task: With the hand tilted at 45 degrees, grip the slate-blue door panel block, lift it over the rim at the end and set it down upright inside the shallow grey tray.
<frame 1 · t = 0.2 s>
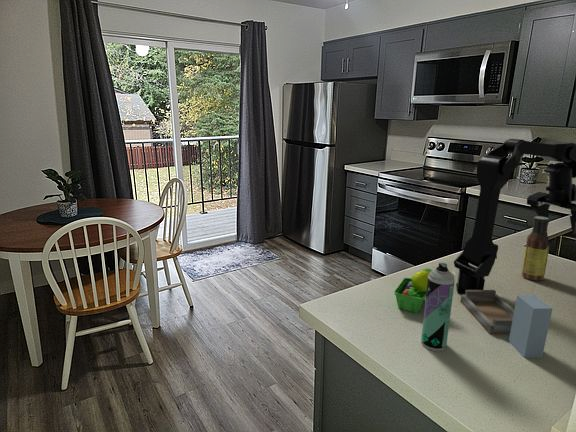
hand: (560, 229, 122), 16 cm above the counter, tool pointing down, fingers open, 9 cm apart
fruit basket: (413, 305, 107), on the counter
shallow grey tray: (492, 316, 101), on the counter
sauce bottle: (531, 277, 124), on the counter
spray can: (433, 345, 89), on the counter
door panel: (524, 349, 87), on the counter
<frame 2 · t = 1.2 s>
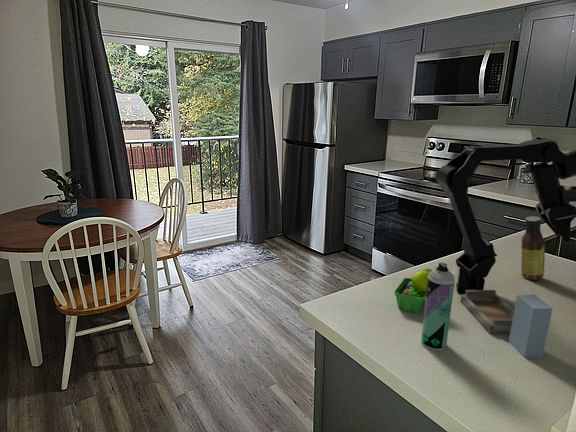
hand: (563, 238, 106), 18 cm above the counter, tool tilted 25°, fingers open, 9 cm apart
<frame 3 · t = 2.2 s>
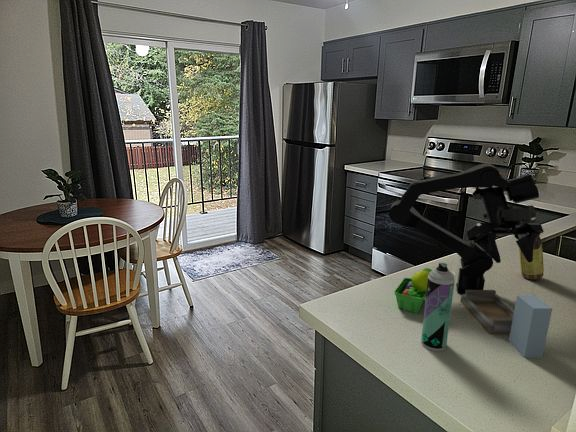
hand: (515, 262, 98), 15 cm above the counter, tool tilted 40°, fingers open, 9 cm apart
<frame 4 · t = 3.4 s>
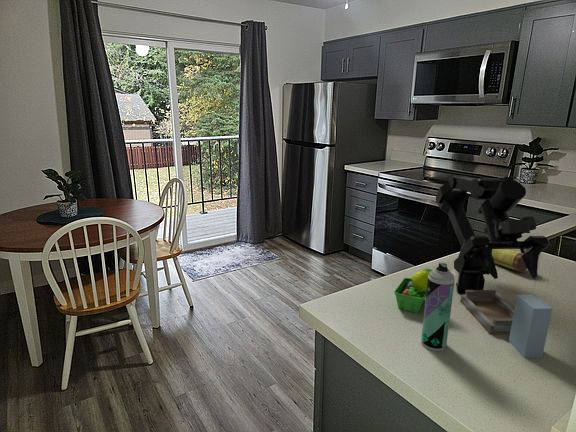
hand: (515, 278, 91), 14 cm above the counter, tool tilted 45°, fingers open, 9 cm apart
sauce bottle: (525, 264, 125), point 3 cm above the counter
everything else where it was.
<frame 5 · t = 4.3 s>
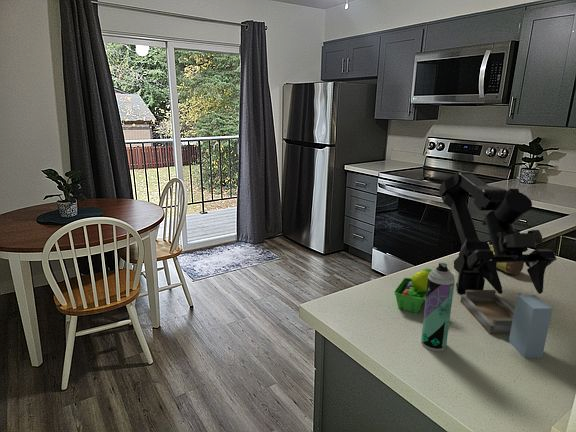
hand: (520, 293, 89), 11 cm above the counter, tool tilted 45°, fingers open, 9 cm apart
sauce bottle: (519, 267, 124), point 3 cm above the counter
everything else where it was.
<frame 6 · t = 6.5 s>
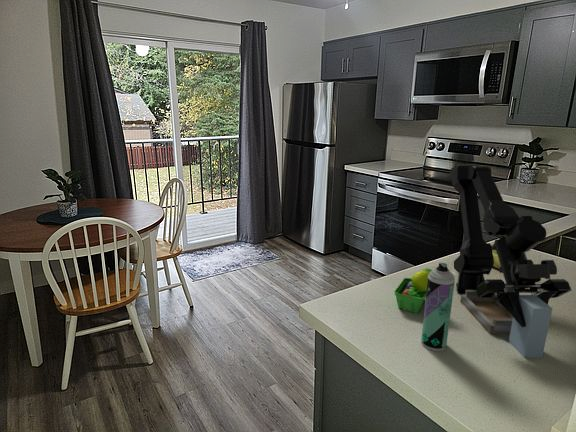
hand: (533, 326, 84), 7 cm above the counter, tool tilted 45°, fingers closed on door panel, 4 cm apart
door panel: (524, 349, 87), on the counter, touching gripper
everything else where it was.
when the fingers open (8 cm above the counter, at t = 11.4 s): door panel stays where it is, resting on shallow grey tray.
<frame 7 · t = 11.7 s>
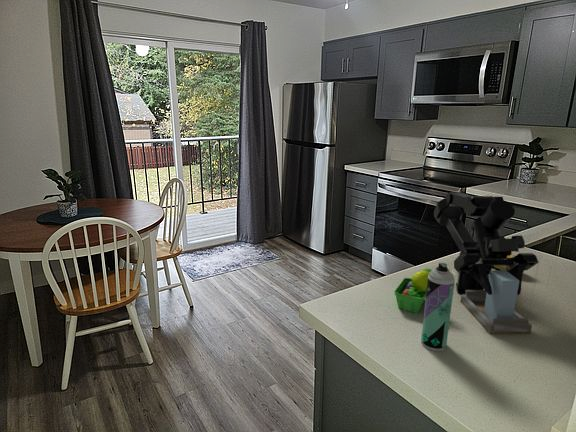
hand: (504, 294, 95), 8 cm above the counter, tool tilted 45°, fingers open, 7 cm apart
door panel: (497, 318, 98), point 1 cm above the counter, touching shallow grey tray
everything else where it was.
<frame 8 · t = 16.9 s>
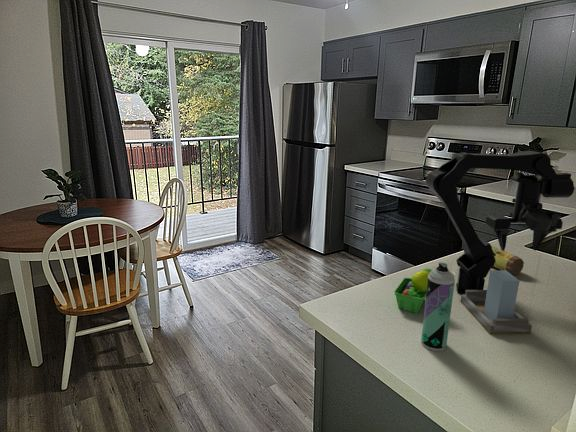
hand: (518, 250, 111), 13 cm above the counter, tool pointing down, fingers open, 9 cm apart
nothing on the counter moved.
at the end: door panel inside the target area on the shallow grey tray (2.0 cm from its centre), point 0.6 cm above the shallow grey tray's base; door panel tilted 0°; the gripper is holding nothing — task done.
